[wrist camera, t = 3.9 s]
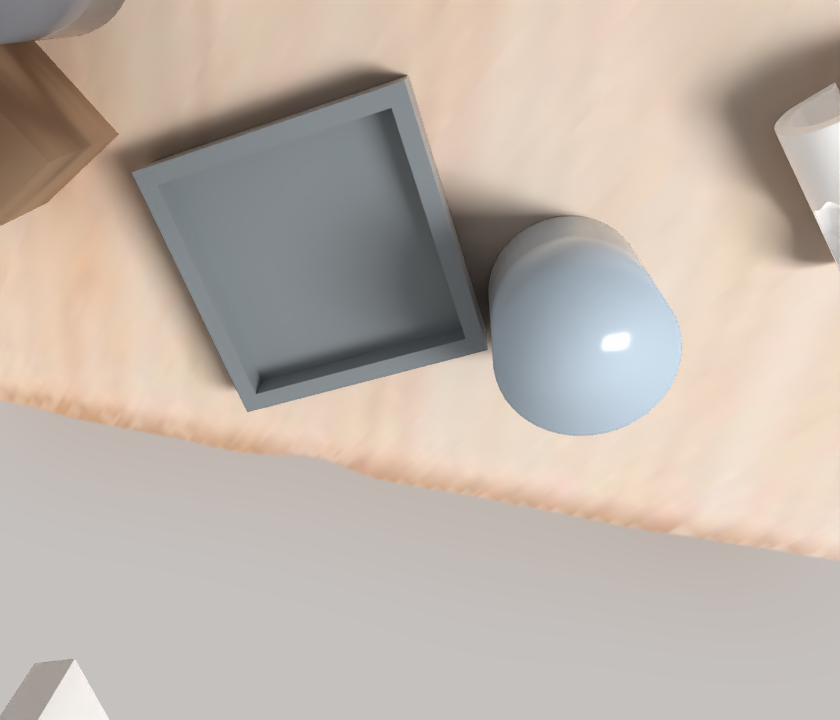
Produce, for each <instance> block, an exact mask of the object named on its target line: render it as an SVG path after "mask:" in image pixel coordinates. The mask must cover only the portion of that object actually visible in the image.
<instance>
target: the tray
mask: <svg viewBox="0 0 840 720" xmlns="http://www.w3.org/2000/svg"><path fill="white" fill-rule="evenodd" d="M132 175H133V177H134V179H135V181H136V183H137V185H138V187H139V189H140V191H141V193H142V195H143V197H144V199H145V201H146V203H147V206H148V208H149V210H150V212H151V214H152V216H153V218H154V220H155V222H156V224H157V226H158V228H159V230H160V232H161V235H162V237H163V239H164V241H165V243H166V245H167V247H168V249H169V251H170V253H171V255H172V257H173V259H174V261H175V263H176V266H177V268H178V270H179V272H180V274H181V276H182V278H183V280H184V282H185V284H186V286H187V288H188V290H189V292H190V294H191V297H192V299H193V301H194V303H195V305H196V307H197V309H198V311H199V313H200V315H201V317H202V319H203V321H204V323H205V326H206V328H207V330H208V332H209V334H210V336H211V338H212V340H213V342H214V344H215V346H216V348H217V350H218V352H219V354H220V357H221V359H222V361H223V363H224V365H225V367H226V369H227V371H228V373H229V375H230V377H231V379H232V381H233V383H234V386H235V388H236V390H237V392H238V394H239V396H240V398H241V400H242V402H243V404H244V406H245V408H246V410H247V412H250V411H253V410H257V409H261V408H265V407H269V406H273V405H277V404H280V403H284V402H288V401H292V400H296V399H300V398H304V397H308V396H311V395H315V394H319V393H323V392H327V391H331V390H335V389H338V388H342V387H346V386H350V385H354V384H358V383H362V382H365V381H369V380H373V379H377V378H381V377H385V376H389V375H392V374H396V373H400V372H404V371H408V370H412V369H416V368H420V367H423V366H427V365H431V364H435V363H439V362H443V361H447V360H450V359H454V358H458V357H462V356H466V355H470V354H474V353H477V352H481V351H485V350H488V349H487V331H486V328H485V325H484V322H483V318H482V315H481V312H480V308H479V305H478V302H477V299H476V295H475V292H474V289H473V286H472V282H471V279H470V276H469V273H468V269H467V266H466V263H465V259H464V256H463V253H462V250H461V246H460V243H459V240H458V237H457V233H456V230H455V227H454V223H453V220H452V217H451V214H450V210H449V207H448V204H447V201H446V197H445V194H444V191H443V187H442V184H441V181H440V178H439V174H438V171H437V168H436V165H435V161H434V158H433V155H432V152H431V148H430V145H429V142H428V138H427V135H426V132H425V129H424V125H423V122H422V119H421V116H420V112H419V109H418V106H417V102H416V99H415V96H414V93H413V89H412V86H411V83H410V80H409V76H405V77H402V78H399V79H396V80H393V81H390V82H387V83H384V84H381V85H378V86H376V87H373V88H370V89H367V90H364V91H361V92H358V93H355V94H352V95H349V96H346V97H343V98H340V99H337V100H334V101H331V102H328V103H325V104H322V105H319V106H316V107H313V108H311V109H308V110H305V111H302V112H299V113H296V114H293V115H290V116H287V117H284V118H281V119H278V120H275V121H272V122H269V123H266V124H263V125H260V126H257V127H254V128H251V129H249V130H246V131H243V132H240V133H237V134H234V135H231V136H228V137H225V138H222V139H219V140H216V141H213V142H210V143H207V144H204V145H201V146H198V147H195V148H192V149H189V150H186V151H184V152H181V153H178V154H175V155H172V156H169V157H166V158H163V159H160V160H157V161H154V162H151V163H149V164H147V165H145V166H143V167H141V168H139V169H138V170H136V171H134V172H132Z"/></svg>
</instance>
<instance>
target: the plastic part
mask: <svg viewBox="0 0 840 720" xmlns="http://www.w3.org/2000/svg"><path fill="white" fill-rule="evenodd" d="M774 129H775V132H776V135H777V137H778V139H779V141H780V143H781V145H782V147H783V150H784V152H785V154H786V156H787V158H788V160H789V163H790V165H791V167H792V169H793V171H794V173H795V175H796V178H797V180H798V182H799V184H800V186H801V188H802V191H803V193H804V195H805V197H806V199H807V201H808V203H809V206H810V208H811V210H812V212H813V214H814V216H815V219H816V221H817V223H818V225H819V227H820V229H821V232H822V234H823V236H824V238H825V240H826V242H827V245H828V247H829V249H830V251H831V253H832V255H833V258H834V260H835V262H836V264H837V266H838V268H839V271H840V92H839V89H838V87H837V85H836V83H833V84H831V85H829V86H827V87H826V88H824V89H822V90H821V91H819V92H817V93H816V94H814V95H812V96H811V97H809V98H807V99H806V100H804V101H802V102H801V103H799V104H797V105H796V106H794V107H792V108H791V109H789V110H788V111H786V112H785V113H784V114H783V115H782V116H781V117H780V118H779V120H778V121H777V122H776V124H775V127H774Z"/></svg>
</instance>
